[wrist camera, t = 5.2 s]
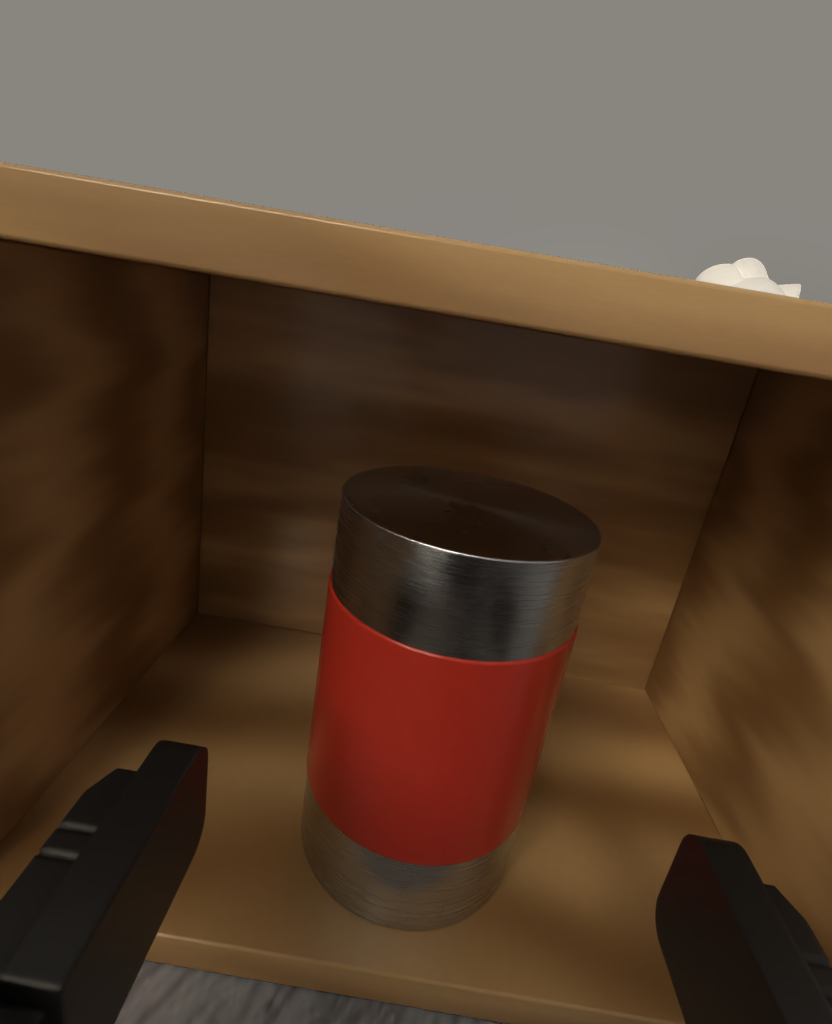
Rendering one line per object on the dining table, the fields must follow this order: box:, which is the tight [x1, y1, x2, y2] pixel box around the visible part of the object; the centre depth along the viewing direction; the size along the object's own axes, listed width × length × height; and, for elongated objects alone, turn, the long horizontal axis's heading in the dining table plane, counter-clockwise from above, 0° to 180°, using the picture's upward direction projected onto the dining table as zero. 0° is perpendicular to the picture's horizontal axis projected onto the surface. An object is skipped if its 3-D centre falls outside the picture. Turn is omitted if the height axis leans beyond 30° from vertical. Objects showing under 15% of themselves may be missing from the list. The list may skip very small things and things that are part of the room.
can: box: [301, 466, 601, 931], centre depth 15 cm, size 6×6×10 cm
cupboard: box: [0, 161, 832, 1024], centre depth 17 cm, size 14×22×16 cm, turn 86°
